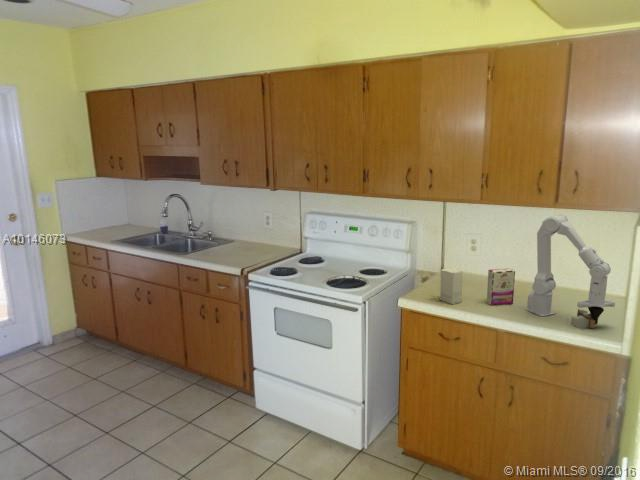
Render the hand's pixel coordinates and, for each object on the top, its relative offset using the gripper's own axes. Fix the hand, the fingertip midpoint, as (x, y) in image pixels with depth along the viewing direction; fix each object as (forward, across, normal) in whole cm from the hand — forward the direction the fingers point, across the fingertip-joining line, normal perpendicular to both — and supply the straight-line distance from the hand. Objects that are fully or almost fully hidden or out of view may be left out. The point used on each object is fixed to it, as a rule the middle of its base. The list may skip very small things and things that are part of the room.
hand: (593, 323), depth 190 cm
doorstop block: (+2, -5, +2) cm, 5 cm away
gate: (+1, -1, +4) cm, 4 cm away
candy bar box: (+2, -26, +30) cm, 40 cm away
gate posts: (+1, +1, +7) cm, 7 cm away
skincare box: (+2, -48, +35) cm, 60 cm away
